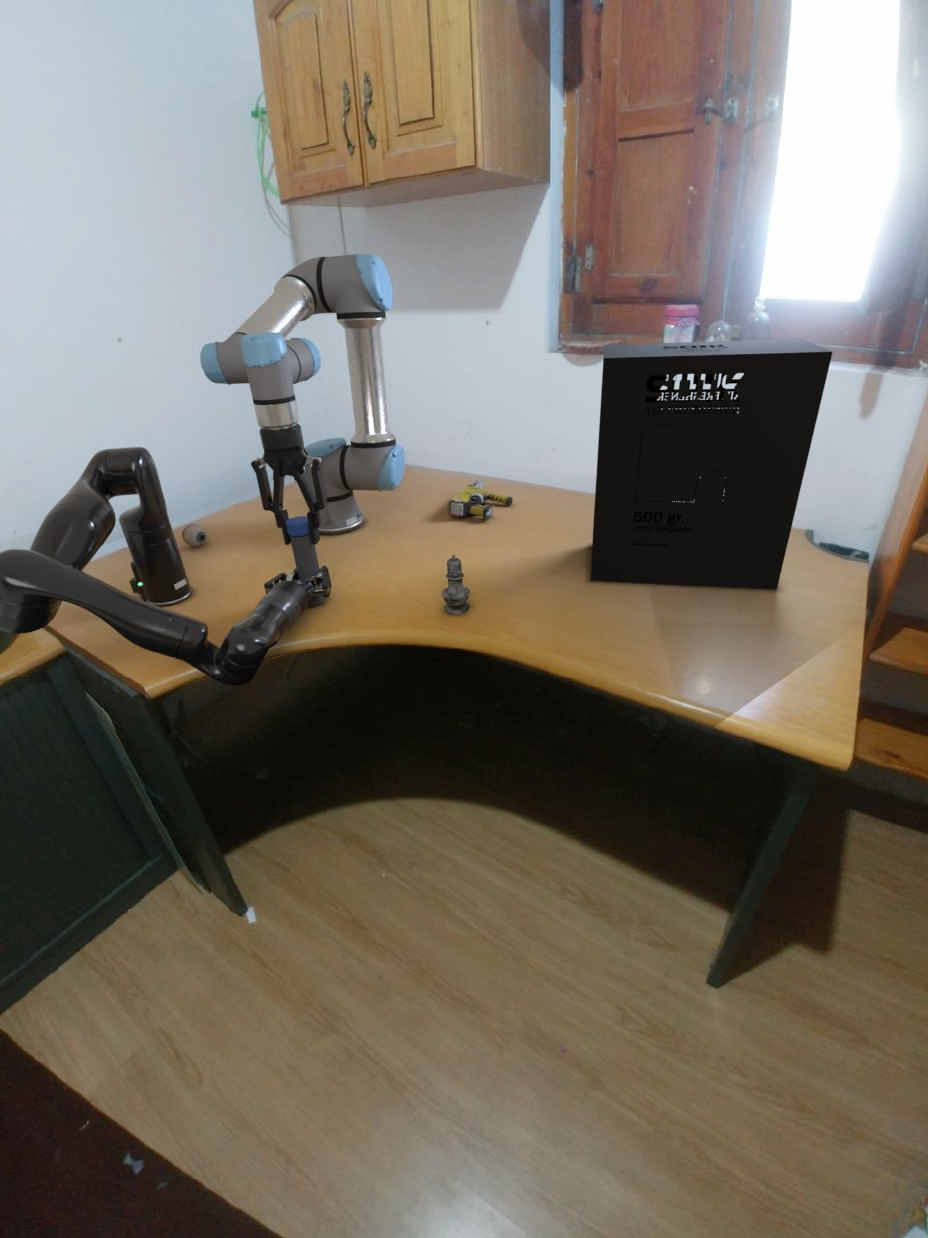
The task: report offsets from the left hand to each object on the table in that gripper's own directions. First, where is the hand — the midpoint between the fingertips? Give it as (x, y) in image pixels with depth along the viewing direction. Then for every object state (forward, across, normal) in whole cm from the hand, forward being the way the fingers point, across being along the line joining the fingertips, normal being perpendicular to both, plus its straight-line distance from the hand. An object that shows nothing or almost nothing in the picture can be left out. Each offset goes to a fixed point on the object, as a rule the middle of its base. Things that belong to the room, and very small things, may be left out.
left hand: (314, 569), depth 129 cm
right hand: (-3, 0, +8) cm, 8 cm away
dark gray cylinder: (-3, 0, -6) cm, 7 cm away
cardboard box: (+19, +78, -6) cm, 81 cm away
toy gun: (+57, +30, -6) cm, 65 cm away
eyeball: (+25, -44, -6) cm, 51 cm away
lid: (-3, 0, +12) cm, 12 cm away
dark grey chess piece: (-4, +31, -6) cm, 32 cm away
